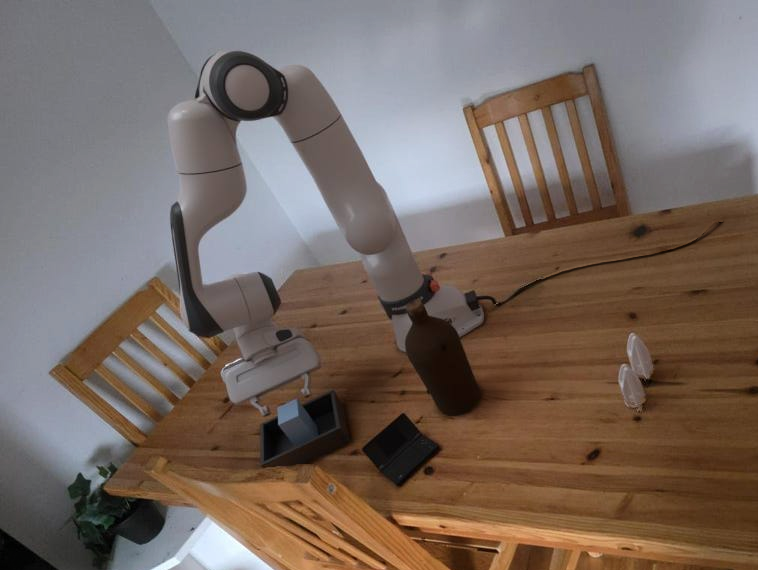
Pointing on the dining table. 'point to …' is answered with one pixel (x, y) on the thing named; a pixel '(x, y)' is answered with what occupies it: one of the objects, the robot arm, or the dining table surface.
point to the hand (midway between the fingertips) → (287, 405)
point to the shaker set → (634, 371)
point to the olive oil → (440, 361)
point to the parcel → (296, 422)
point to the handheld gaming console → (399, 449)
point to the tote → (330, 437)
